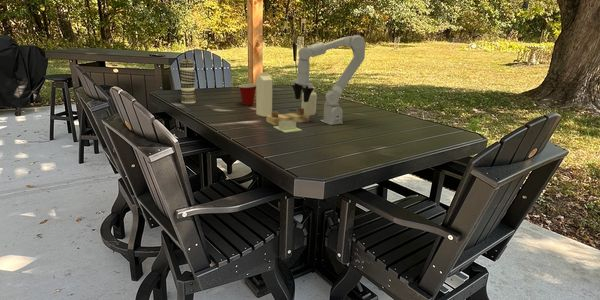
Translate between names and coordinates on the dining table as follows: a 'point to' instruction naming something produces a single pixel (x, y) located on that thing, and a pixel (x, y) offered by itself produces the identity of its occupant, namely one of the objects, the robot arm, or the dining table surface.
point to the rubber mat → (287, 129)
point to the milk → (264, 95)
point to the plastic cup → (247, 93)
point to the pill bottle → (310, 104)
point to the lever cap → (287, 125)
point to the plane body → (287, 117)
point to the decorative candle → (187, 81)
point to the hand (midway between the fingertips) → (301, 100)
